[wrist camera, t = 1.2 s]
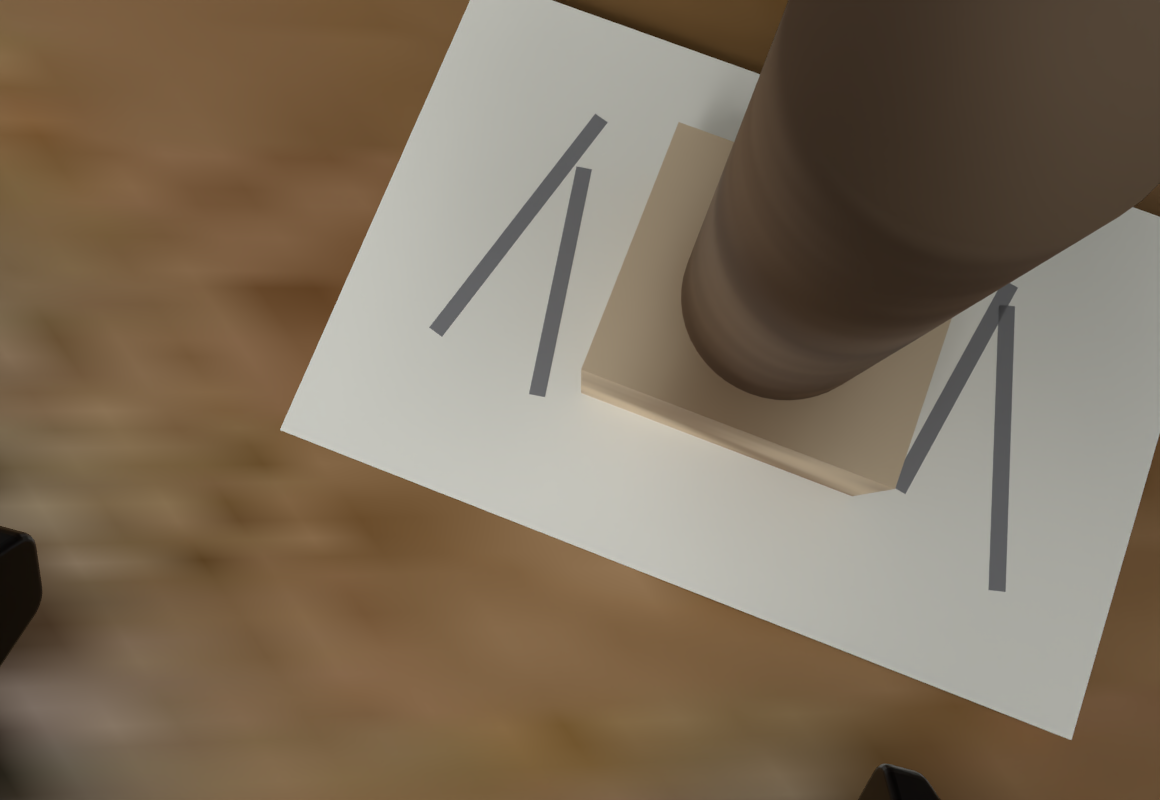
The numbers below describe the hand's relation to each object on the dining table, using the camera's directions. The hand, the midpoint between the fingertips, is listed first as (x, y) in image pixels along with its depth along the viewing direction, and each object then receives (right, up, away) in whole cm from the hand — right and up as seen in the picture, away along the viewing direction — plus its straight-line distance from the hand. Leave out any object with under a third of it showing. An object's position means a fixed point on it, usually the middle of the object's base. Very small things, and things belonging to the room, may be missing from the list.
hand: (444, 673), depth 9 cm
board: (+6, +4, +14) cm, 16 cm away
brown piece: (+6, +5, +13) cm, 15 cm away
